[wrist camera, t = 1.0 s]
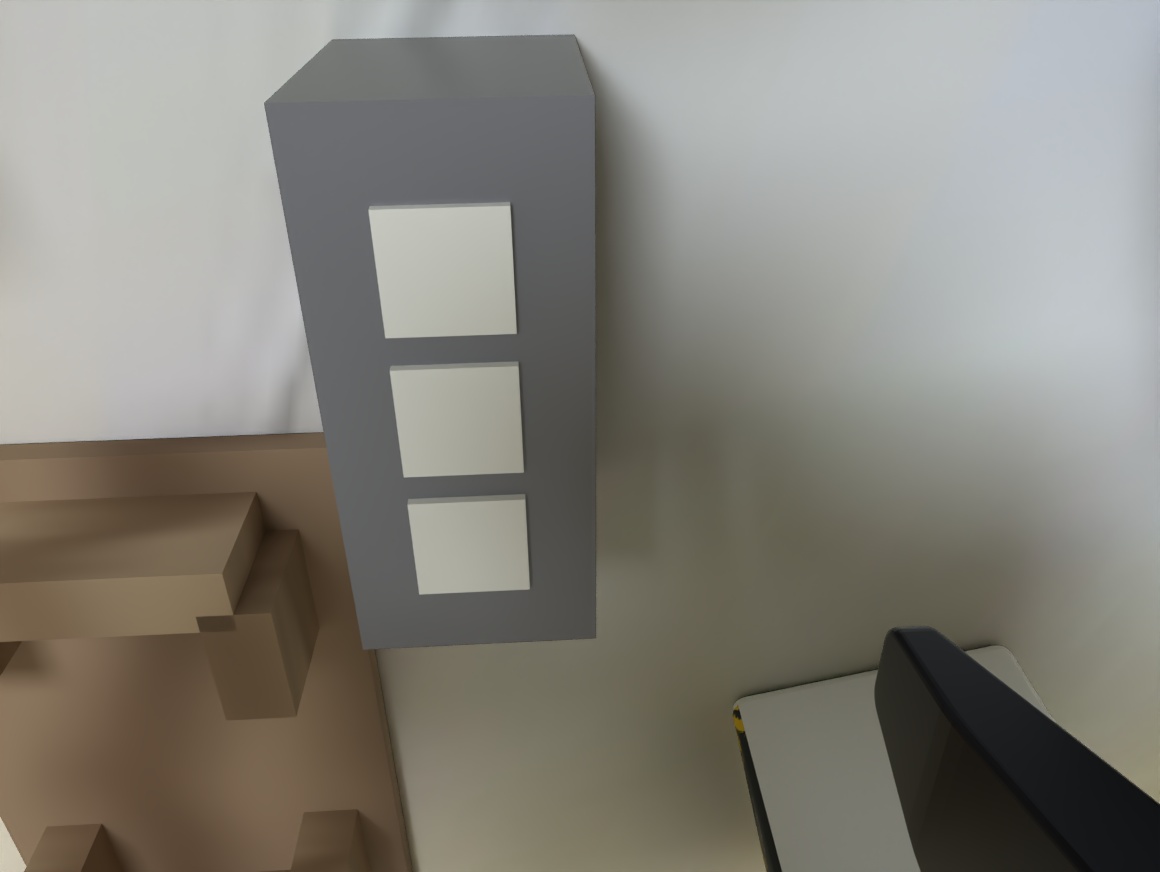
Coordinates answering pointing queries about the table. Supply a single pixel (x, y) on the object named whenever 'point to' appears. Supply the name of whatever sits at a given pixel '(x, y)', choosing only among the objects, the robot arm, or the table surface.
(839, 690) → the medicine bottle
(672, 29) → the table surface
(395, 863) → the cradle board
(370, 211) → the power strip
